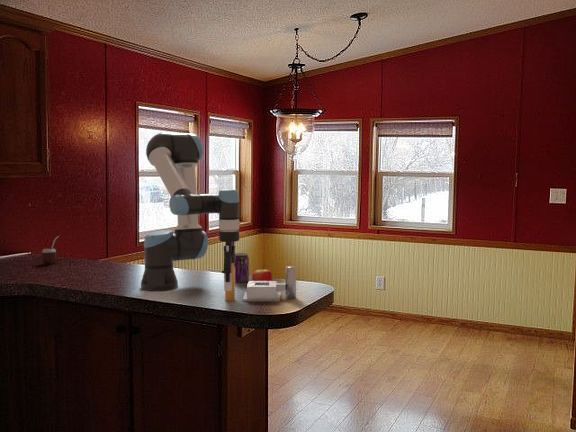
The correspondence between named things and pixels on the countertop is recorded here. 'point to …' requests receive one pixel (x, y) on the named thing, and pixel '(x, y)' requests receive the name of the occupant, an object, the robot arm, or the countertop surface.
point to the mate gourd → (49, 255)
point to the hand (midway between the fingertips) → (229, 287)
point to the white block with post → (272, 288)
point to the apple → (262, 275)
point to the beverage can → (241, 267)
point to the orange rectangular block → (231, 294)
